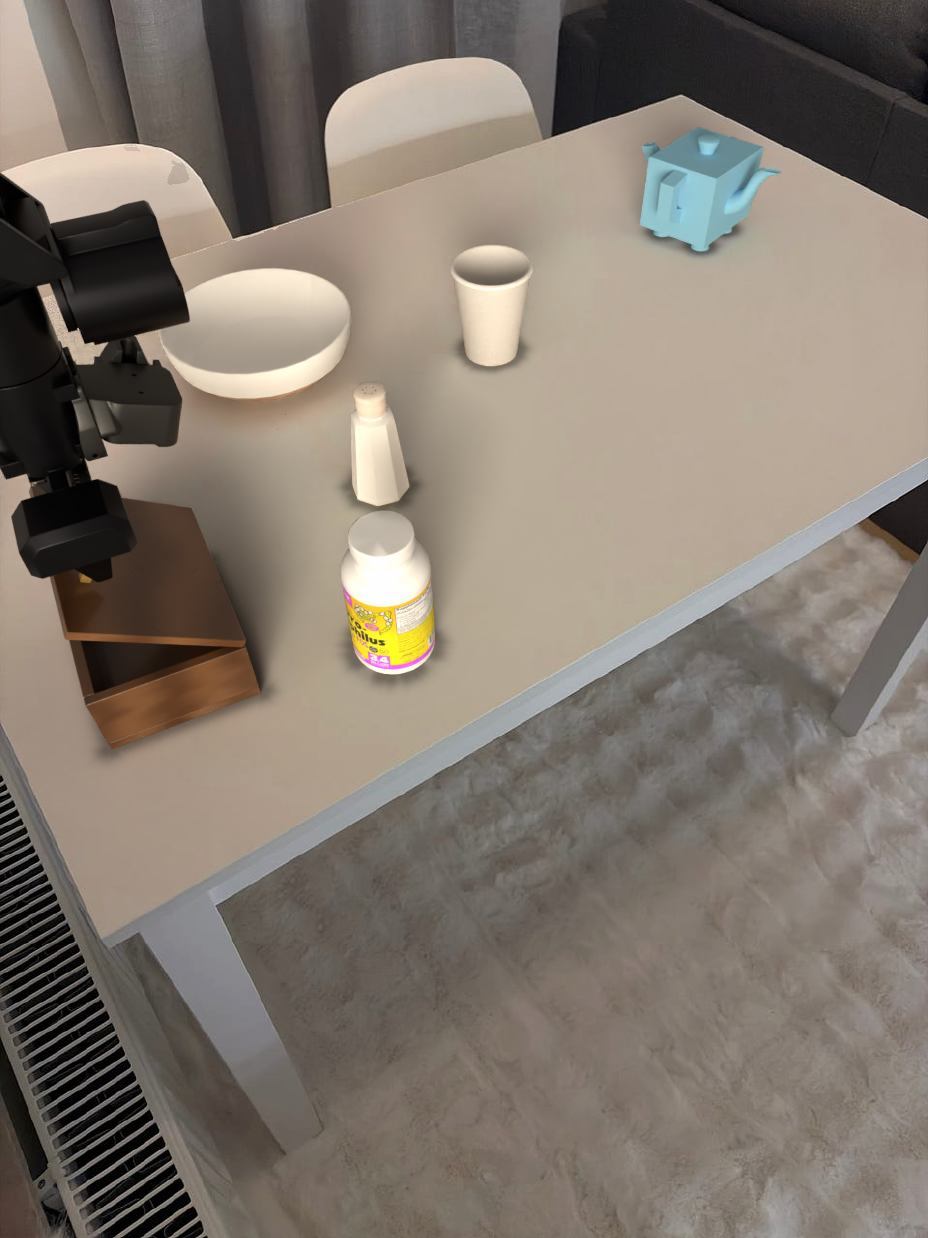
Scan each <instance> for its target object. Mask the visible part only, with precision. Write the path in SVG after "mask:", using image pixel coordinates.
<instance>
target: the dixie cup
mask: <svg viewBox="0 0 928 1238" xmlns="http://www.w3.org/2000/svg"><path fill="white" fill-rule="evenodd" d="M449 270H450V273H451V277H453V283H454V289H455V296H456V302H457V308H458V313H459V321H460V327H461V333H462V339H463V346H464V352H465V355H466V357H467V358H468V359H469V360H470V362H472V363H474V364H477V365H480V366H485V367H496V366H497V367H498V366H502V365H506V364H508V363H510V362H511V361H513V360H514V359H515V358H516V356H517V354H518V350H519V344H520V339H521V331H522V325H523V319H524V313H525V308H526V302H527V297H528V291H529V286H530V285H529V284H530V280H531V276H532V275H533V272H534V262H533V261H532V259H531V258H530V257H529V255H527V254H526V253H525V252H523V251H522V250H520V249H519V248H515V247H513V246H509V245H503V244H481V245H477V246H472V247H470V248H469V247H468V248H467V249H465V250H463V251H461V252H460V253H458V254H457V255H456V256H455V257H454V258H453V259H452V260H451V263H450V267H449Z"/></svg>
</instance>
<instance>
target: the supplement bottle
mask: <svg viewBox="0 0 928 1238" xmlns="http://www.w3.org/2000/svg"><path fill="white" fill-rule="evenodd" d="M347 542H348V548H347V550H346V552H344V555H343V557H342V559H341V563H340V567H339V568H340V569H339V571H340V572H339V573H340V579H341V586H342V590H343V595H344V596H343V597H344V603H345V608H346V613H347V618H348V624H349V628H350V629H349V631H350V636H351V641H352V645H353V649H354V650H353V651H354V653H355V655H356V656H357V658H358V659H359V661H360V662H361V663H362V664H363V665H364V666H365V667H367V668H368V669H370V670H372V671H373V672H376V673H380V674H386V675H400V674H406V673H408V672H411V671H413V670H415V669H417V668H419V667H420V666H422V665H423V664H424V663H425V662H426V661H427V660H428V659H429V658H430V656H431V654H432V652H433V651H434V648H435V644H436V625H435V611H434V595H433V586H432V585H433V580H432V567H431V560H430V557H429V553H428V552H427V550H426V549H425V547H424V546H423V545H422V544H421V543H420V542H419V541H418V540H416V535H415V528H414V526H413V523H412V522H411V521H410V520H409V518H407V517H406V516H405V515H403V514H401V513H400V512H396V511H393V510H376V511H371V512H367V513H365V514H363V515H361V516H360V517H358V518H357V519H355V521H354V522H353V523H352V524H351V526H350V527H349V529H348V533H347Z"/></svg>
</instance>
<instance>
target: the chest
mask: <svg viewBox="0 0 928 1238" xmlns="http://www.w3.org/2000/svg"><path fill="white" fill-rule="evenodd" d="M68 641H69V646H70V649H71V653H72V657H73V661H74V665H75V669H76V673H77V678H78V682H79V686H80V690H81V693H82V694H81V695H82V697H83V702H84V705H85V707H86V709H87V711H88V713H89V714H90V716H91V717H92V719H93V722H95V724H96V726H97V727H98V729H99V731H100V733H101V734H102V736H103V737H104V739H105V740H106V743H107V744H108V746H109V748H110V750H113V749H116V748H119V747H122V746H125V745H127V744H129V743H133V742H135V741H138V740H140V739H143V738H146V737H148V736H151V735H154V734H156V733H160V732H162V731H164V730H167V729H170V728H172V727H175V726H178V725H179V724H182V723H186V722H188V721H190V720H194V719H196V718H199V717H201V716H204V715H206V714H209V713H212V712H215V711H217V710H220V709H222V708H225V707H228V706H230V705H234V704H236V703H238V702H242V701H244V700H247V699H249V698H252V697H254V696H257V695H261V693H262V691H261V689H260V686H259V682H258V680H257V677H256V674H255V671H254V668H253V665H252V662H251V659H250V655H249V653H248V649H247V647H246V643H245V644H244V646H243V647H224V646H201V645H177V644H154V643H130V642H107V641H83V640H68Z"/></svg>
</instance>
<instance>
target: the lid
mask: <svg viewBox="0 0 928 1238" xmlns="http://www.w3.org/2000/svg"><path fill="white" fill-rule="evenodd" d="M74 485H75V484H74ZM74 485H73V486H74ZM28 494H29V496H30V497H29V498H32V497H35V496H39V495H42V494H46V492H45V491H44V490H43V489H42V488H41V487H40V486H35V487H33V486H31V485H30V487H29V490H28ZM122 499H123V502H124V504H125V507H126V510H127V513H128V515H129V518H130V521H131V524H132V527H133V530H134V533H135V536H136V539H137V542H138V543H137V544H136V546H135V547H134V548H133V549H132V550H131V552H128V553H125V554H121V555H118V556H115V557H112V558H111V563H112V573H113V577H112V578H111V579H109V580H106V581H102V582H95V581H94V580H92V579H90V578H88V577H87V576H85V575H83V574H81V573H80V572H78V571H76V570H74V569H73V570H70V571H67V572H63V573H60V574H57V575H54V576H50V577H49V581H50V584H51V588H52V592H53V596H54V600H55V605H56V608H57V613H58V617H59V622H60V625H61V629H62V633H63V637H64V640H66V641H69V640H83V641H107V642H130V643H154V644H177V645H201V646H224V647H243V646H244V644H245V645H246V642H247V640H246V637H245V635H244V633H243V629H242V627H241V625H240V621H239V620H238V618H237V615H236V613H235V610H234V608H233V605H232V603H231V600H230V598H229V595H228V593H227V590H226V588H225V585H224V583H223V580H222V578H221V576H220V573H219V571H218V569H217V566H216V563H215V561H214V559H213V556H212V553H211V551H210V548H209V546H208V544H207V541H206V538H205V536H204V534H203V531H202V529H201V526H200V523H199V522H198V519H197V516H196V514H195V513H194V510H193V507H191V506H183V505H178V504H177V505H176V504H170V503H163V502H156V501H148V500H143V499H142V500H141V499H134V498H127V497H122Z"/></svg>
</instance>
